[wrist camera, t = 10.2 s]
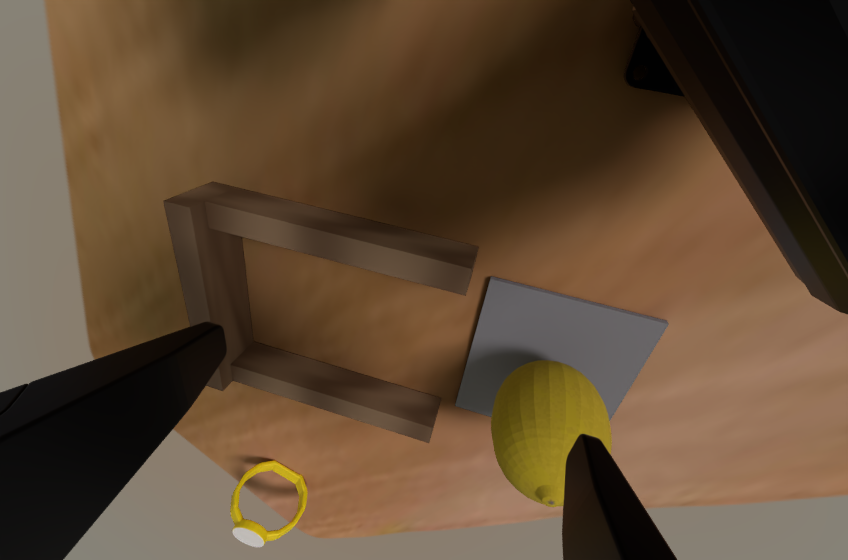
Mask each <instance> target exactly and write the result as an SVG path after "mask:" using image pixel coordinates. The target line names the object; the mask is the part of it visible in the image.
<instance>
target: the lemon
mask: <svg viewBox="0 0 848 560" xmlns="http://www.w3.org/2000/svg"><path fill="white" fill-rule="evenodd" d="M491 431H492V439H493V445H494V451H495V455H496V458H497V461H498V464H499V466H500V468H501V469H502V471H503V473H504V475H505V476H506V478H507V479H508V480H509V482H510V483H511V484H512V485H513V486H514V487H515V488H516V489H517V490H518V491H520V492H521V493H522V494H524V495H525V496H526V497H528V498H530V499H532V500H534V501H536V502H538V503H541V504H545V505H546V506H549V507H556V506H563V505H564V486H565V468H566V460H567V456H568V454H569V452H570V450H571V448H572V447H573V445H574V443H575V441H576V440H577V438H578V436H579V435H580V434H587V435H590V436H593V437H597V438H599V439H600V440H601V441H602V442H603V444H604V445H605V447H606V448H607V450H608V452H609V453H610V454H611V444H612V439H611V428H610V422H609V417H608V413H607V409H606V406H605V404H604V402H603V400H602V398H601V396H600V395H599V393H598V391H597V390H596V388H595V386H594V385H593V384H592V383H591V382H590V381H589V380H588V379H587V378H586V377H585V376H584V375H583V374H582V373H581V372H579V371H578V370H576V369H574V368H573V367H571V366H569V365H566V364H564V363H561V362H557V361H551V360H538V361H534V362H530V363H527V364H525V365H522V366H520V367H518V368H517V369H516V370H514V371H513V372H512V373H511V374H510V375H509V376H507V378H506V379H505V380H504V382H503V384H502V385H501V387H500V389H499V390H498V392H497V395H496V398H495V401H494V406H493V411H492V418H491Z"/></svg>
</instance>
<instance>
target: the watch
mask: <svg viewBox="0 0 848 560" xmlns="http://www.w3.org/2000/svg"><path fill="white" fill-rule="evenodd" d="M269 470H273V471H274V472H276V473H278V474H279V475H281V476H283V477H284V478H286V479H288V480H289V481H291V482H293V483H295V485H296V488H297V491H298V494H299V503H298V510H297V513H296V515H295V516H294V518H293V520H292V521H291V522H290V523H289V524H287V525H286V526H284V527H283V528H281V529H279V530H274V531H267V530H266V529H265V528H264V527H262V526H261V525H260V524H258V523H256V522H254V521H251V520H247V519H244V518H243V516H242V514H241V512H240V509H239V507H238V505H239V493H240V489H241V488H242V486H243V484H244V483H245V481H247V480H248V479H250V478H251V477H252V476H254V475H255V474H257V473H258V472H264V471H269ZM307 493H308V492H307V487H306V484H305V481H304V478H303V476H302V475H299V474H298V473H296V472H294V471H292V470H290V469H289V468H287V467H285V466H284V465H282V464H280V463H279V462H277V461H276V460H273V461H267V462H261V463H260V464H257V465H256V466H254V467H253V468H251V469H250V470H248V471H247V472H246V473H245V474H244V475H243V477H242V479H241V480H240V482H239V484H238V485H237V487H236V489H235V490H234V492H233V495H232V500H231V509H230V512H231V517H232V519H233V522H234V524H235V526H234V528H233V534H234V536H235V537H236V538H237V539H239V540H240V541H241V542H243V543H245V544H247V545H250V546H253V547H261V546H263V545H264V544H265V542H266V541H271V540H275V539H278V538H280V537H281V536H282V535H284V534H285V533H287V532H288V531H290V530H291V529H292V528H293V527H294V526H295V524H296V523H297V522H298V520H299V518H300V517H301V515H302V513H303V512H304V510H305V507H306V501H307Z"/></svg>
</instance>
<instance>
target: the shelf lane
mask: <svg viewBox="0 0 848 560" xmlns="http://www.w3.org/2000/svg"><path fill="white" fill-rule="evenodd" d="M163 202H164V206H165V211H166V216H167V220H168V225H169V230H170V234H171V239H172V243H173V248H174V253H175V257H176V262H177V267H178V271H179V276H180V280H181V285H182V290H183V294H184V299H185V304H186V308H187V313H188V318H189V322H190V327H191V326H194V325H197V324H199V323H202V322H212V323H216V324H219V325H221V326H222V327H223V328H224V332H225V338H226V345H227V353H226V356H225V358H224V360H223V361H222V363H221V364H220V366H219V367H218V368H217V370H216V371H215V373H214V374H213V376H212V377H211V379H210V380H209V382H208V383H207V384H206V386H209V387H212V388H215V389H218V390H221V391H224V389H225V388H226V387H227V386H228V385H229V384H230V383H231V382H232V381H236V382H239V383H242V384H245V385H248V386H251V387H255V388H258V389H261V390H264V391H267V392H270V393H273V394H277V395H280V396H283V397H286V398H289V399H292V400H295V401H298V402H302V403H305V404H308V405H311V406H314V407H317V408H320V409H324V410H327V411H330V412H333V413H336V414H339V415H342V416H346V417H349V418H352V419H355V420H358V421H361V422H364V423H367V424H371V425H374V426H377V427H380V428H383V429H386V430H389V431H393V432H396V433H399V434H402V435H405V436H408V437H411V438H414V439H418V440H421V441H424V442H427V443H429V442H430V438H431V435H432V431H433V428H434V424H435V420H436V417H437V413H438V409H439V405H440V401H441V398H439V397H436V396H432V395H429V394H426V393H422V392H419V391H416V390H412V389H409V388H406V387H402V386H399V385H396V384H392V383H389V382H386V381H382V380H379V379H376V378H373V377H369V376H366V375H363V374H359V373H356V372H353V371H349V370H346V369H343V368H339V367H336V366H333V365H329V364H326V363H323V362H320V361H316V360H313V359H310V358H306V357H303V356H300V355H296V354H293V353H290V352H286V351H283V350H280V349H276V348H273V347H270V346H266V345H263V344H260V343H257V342H253V334H252V325H251V316H250V307H249V298H248V289H247V280H246V271H245V262H244V252H243V243H242V237H245V238H248V239H252V240H256V241H260V242H264V243H267V244H271V245H275V246H279V247H283V248H286V249H290V250H294V251H298V252H302V253H305V254H309V255H313V256H317V257H321V258H324V259H328V260H332V261H336V262H340V263H344V264H347V265H351V266H355V267H359V268H363V269H366V270H370V271H374V272H378V273H382V274H385V275H389V276H393V277H397V278H401V279H404V280H408V281H412V282H416V283H420V284H423V285H427V286H431V287H435V288H439V289H442V290H446V291H450V292H454V293H458V294H461V295H465V296H466V292H467V289H468V286H469V282H470V279H471V276H472V272H473V268H474V264H475V260H476V256H477V252H478V248H479V247H478V246H474V245H469V244H465V243H461V242H457V241H453V240H449V239H445V238H441V237H437V236H433V235H429V234H425V233H420V232H416V231H412V230H408V229H404V228H400V227H396V226H392V225H388V224H384V223H380V222H375V221H371V220H367V219H363V218H359V217H355V216H351V215H347V214H343V213H339V212H335V211H330V210H326V209H322V208H318V207H314V206H310V205H306V204H302V203H298V202H294V201H290V200H286V199H281V198H277V197H273V196H269V195H265V194H261V193H257V192H253V191H249V190H245V189H241V188H236V187H232V186H228V185H224V184H220V183H216V182H211V183H208V184H206V185H203V186H200V187H198V188H195V189H193V190H190V191H188V192H185V193H182V194H180V195H177V196H175V197H172V198H170V199H167V200H165V201H163Z"/></svg>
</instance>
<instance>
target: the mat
mask: <svg viewBox="0 0 848 560" xmlns="http://www.w3.org/2000/svg"><path fill="white" fill-rule="evenodd" d="M667 326H668V322H667V321H666V320H662V319H658V318H654V317H650V316H646V315H642V314H638V313H634V312H630V311H626V310H622V309H619V308H615V307H611V306H607V305H603V304H599V303H595V302H591V301H587V300H583V299H579V298H575V297H571V296H567V295H563V294H559V293H555V292H552V291H548V290H544V289H540V288H536V287H532V286H528V285H524V284H520V283H516V282H512V281H508V280H504V279H500V278H496V277H492V276H491V278H490V282H489V285H488V289H487V292H486V296H485V300H484V303H483V307H482V310H481V314H480V317H479V321H478V325H477V328H476V332H475V335H474V339H473V342H472V346H471V350H470V353H469V357H468V360H467V364H466V367H465V371H464V375H463V378H462V382H461V385H460V389H459V392H458V396H457V400H456V403H455V406H457V407H460V408H463V409H467V410H470V411H473V412H476V413H480V414H483V415H486V416H490V417H492V411H493V406H494V401H495V398H496V395H497V392H498V390H499V389H500V387H501V385H502V384H503V382H504V380H505V379H506V378H507V376H509V375H510V374H511V373H512V372H513V371H514V370H516V369H517V368H518V367H520V366H522V365H525V364H527V363H530V362H534V361H538V360H551V361H557V362H561V363H564V364H566V365H569V366H571V367H573V368H574V369H576V370H578V371H579V372H581V373H582V374H583V375H584V376H585V377H586V378H587V379H588V380H589V381H590V382H591V383H592V384H593V385H594V386H595V388H596V390H597V391H598V393H599V395H600V396H601V398H602V400H603V402H604V404H605V406H606V409H607V413H608V417H609V421H610V420H611V418H612V416H613V415H614V413H615V412H616V410H617V408H618V407H619V405H620V403H621V402H622V400H623V398H624V397H625V395H626V393H627V392H628V390H629V389H630V387H631V385H632V384H633V382H634V380H635V379H636V377H637V375H638V374H639V372H640V370H641V369H642V367H643V366H644V364H645V362H646V361H647V359H648V357H649V356H650V354H651V352H652V351H653V349H654V347H655V346H656V344H657V343H658V341H659V339H660V338H661V336H662V334H663V333H664V331H665V329H666V328H667Z"/></svg>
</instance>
